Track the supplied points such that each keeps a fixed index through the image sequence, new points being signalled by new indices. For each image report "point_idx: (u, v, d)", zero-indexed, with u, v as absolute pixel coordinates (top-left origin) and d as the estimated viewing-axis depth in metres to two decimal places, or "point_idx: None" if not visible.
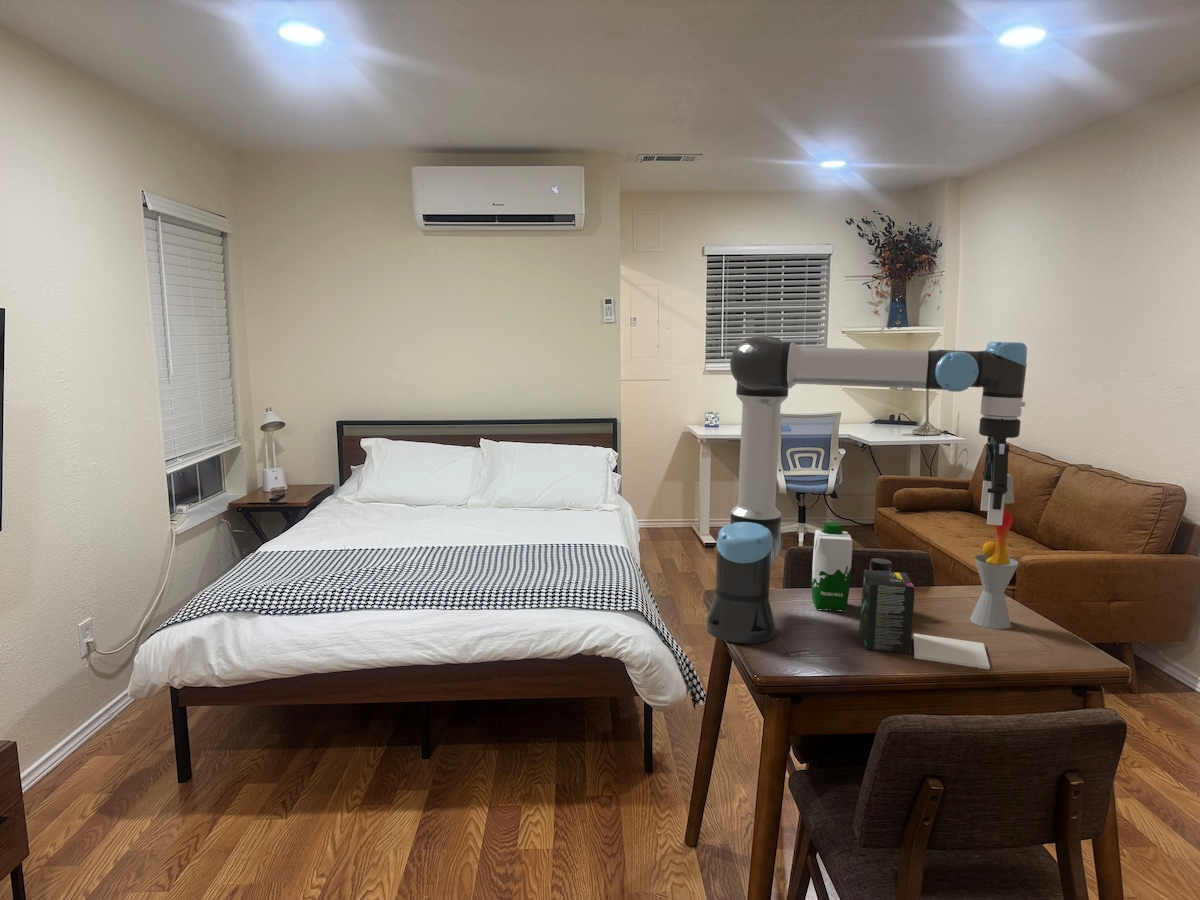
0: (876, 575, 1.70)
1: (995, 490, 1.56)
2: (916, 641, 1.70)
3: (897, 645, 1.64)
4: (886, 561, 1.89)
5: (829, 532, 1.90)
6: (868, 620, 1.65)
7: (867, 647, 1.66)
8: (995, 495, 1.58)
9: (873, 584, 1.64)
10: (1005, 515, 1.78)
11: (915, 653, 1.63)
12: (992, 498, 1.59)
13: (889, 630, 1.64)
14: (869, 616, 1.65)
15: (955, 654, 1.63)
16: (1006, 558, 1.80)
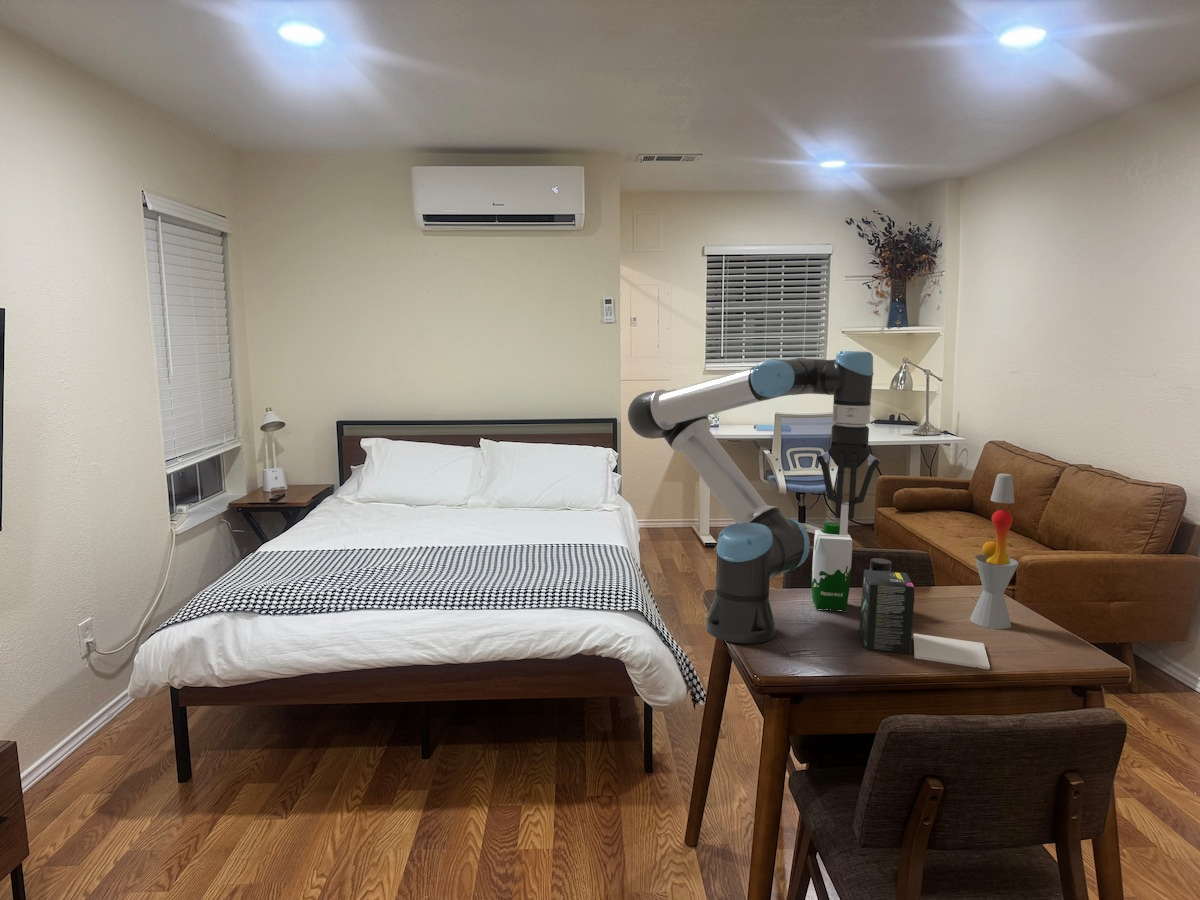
0: (876, 575, 1.70)
1: None
2: (916, 641, 1.70)
3: (897, 645, 1.64)
4: (886, 561, 1.89)
5: (829, 532, 1.90)
6: (868, 620, 1.65)
7: (867, 647, 1.66)
8: None
9: (873, 584, 1.64)
10: (1005, 515, 1.78)
11: (915, 653, 1.63)
12: None
13: (889, 630, 1.64)
14: (869, 616, 1.65)
15: (955, 654, 1.63)
16: (1006, 558, 1.80)
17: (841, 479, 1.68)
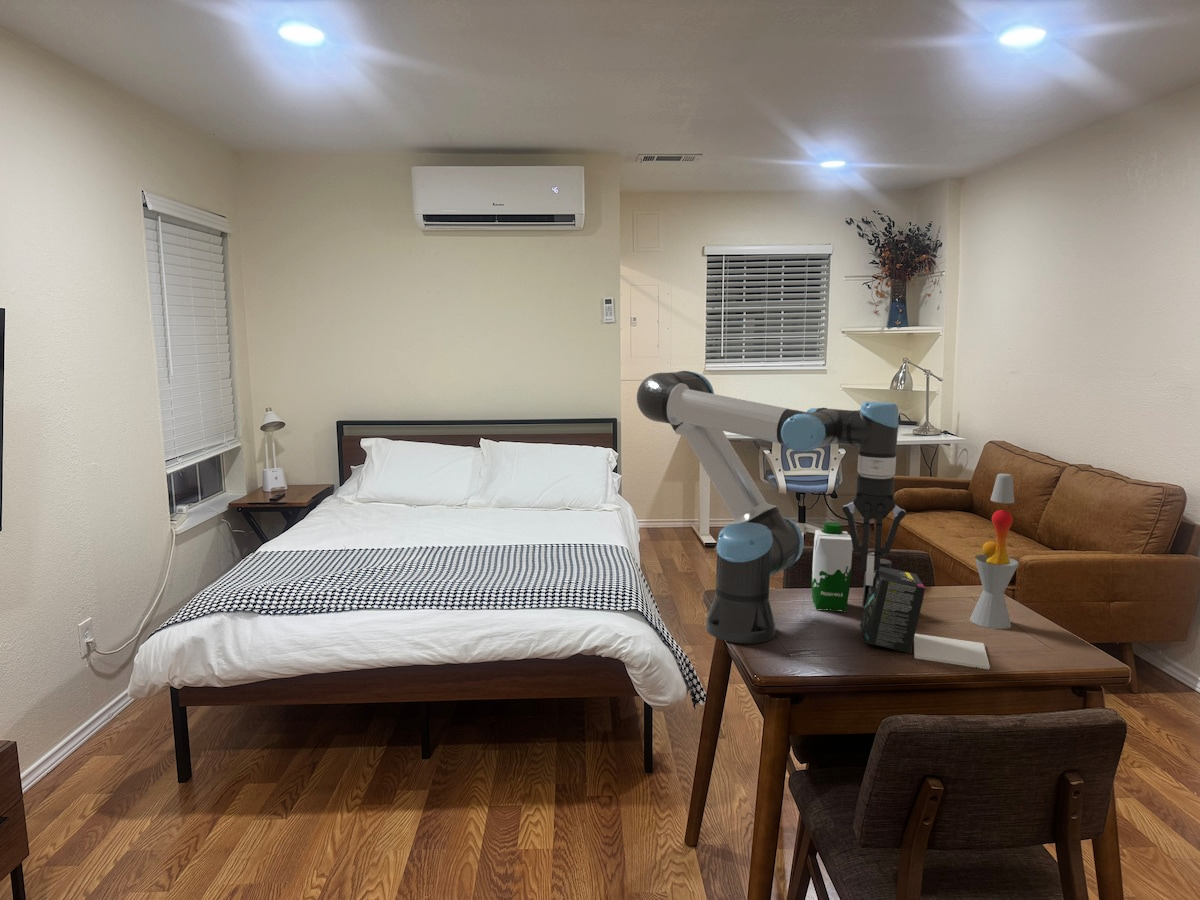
0: (887, 572, 1.69)
1: None
2: (916, 641, 1.70)
3: (899, 643, 1.64)
4: (886, 561, 1.89)
5: (829, 532, 1.90)
6: (873, 615, 1.65)
7: (868, 641, 1.66)
8: None
9: (884, 580, 1.63)
10: (1005, 515, 1.78)
11: (915, 653, 1.63)
12: None
13: (893, 628, 1.64)
14: (875, 611, 1.65)
15: (955, 654, 1.63)
16: (1006, 558, 1.80)
17: (867, 530, 1.67)
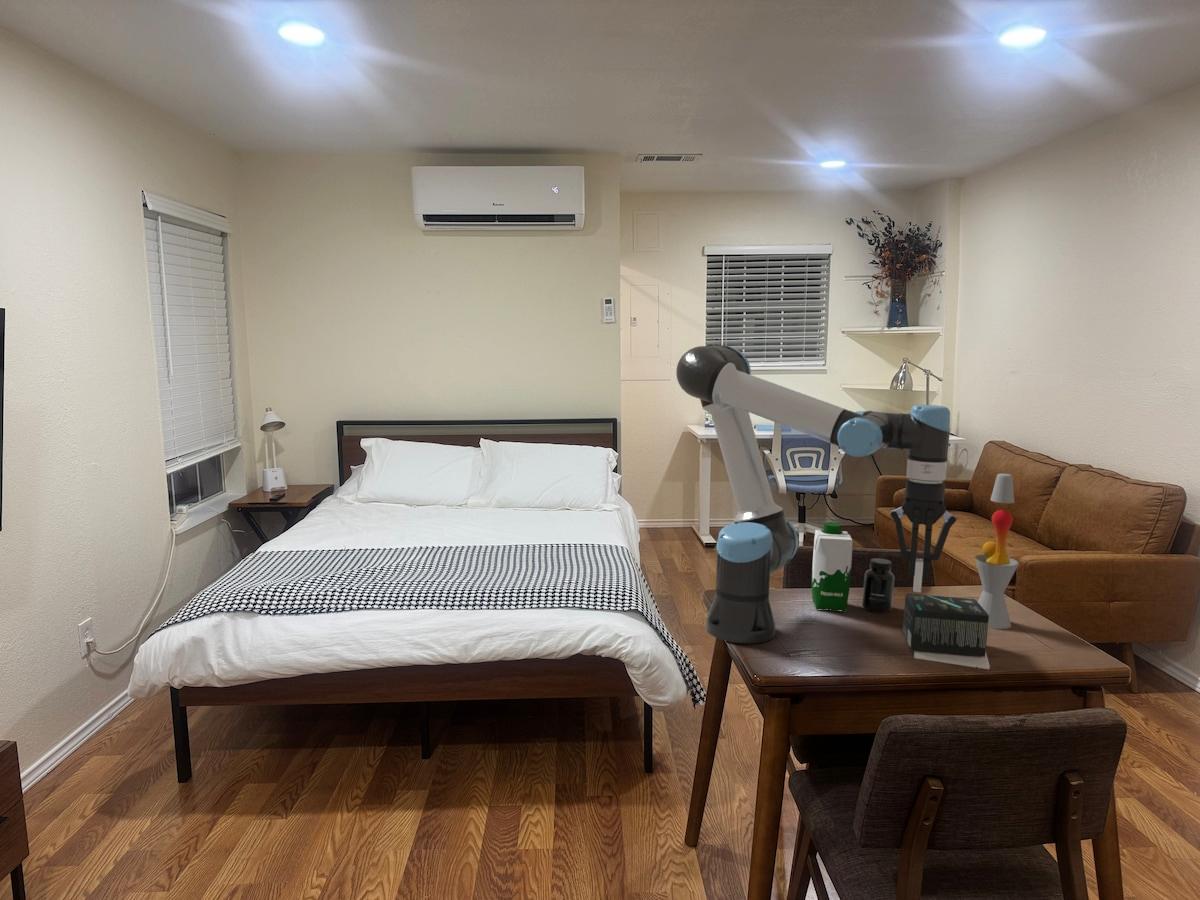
0: None
1: None
2: None
3: (919, 639, 1.63)
4: (886, 561, 1.89)
5: (829, 532, 1.90)
6: (947, 612, 1.62)
7: (916, 610, 1.63)
8: None
9: (988, 618, 1.60)
10: (1005, 515, 1.78)
11: (915, 653, 1.63)
12: None
13: (936, 632, 1.62)
14: (951, 613, 1.62)
15: (955, 654, 1.63)
16: (1006, 558, 1.80)
17: (916, 536, 1.64)
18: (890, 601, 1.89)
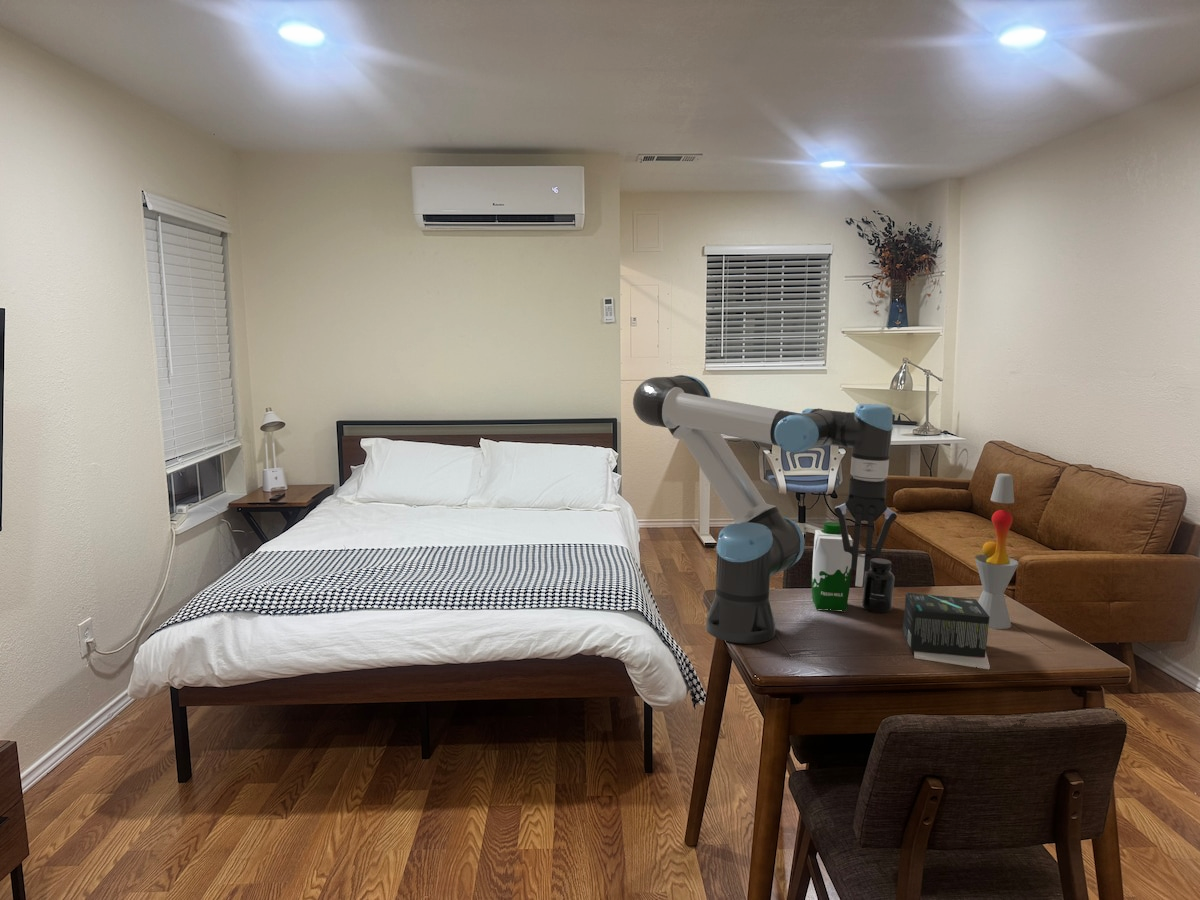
0: None
1: None
2: None
3: (919, 639, 1.63)
4: (886, 561, 1.89)
5: (829, 532, 1.90)
6: (947, 613, 1.62)
7: (917, 611, 1.63)
8: None
9: (988, 620, 1.60)
10: (1005, 515, 1.78)
11: (915, 653, 1.63)
12: None
13: (936, 633, 1.62)
14: (952, 614, 1.61)
15: None
16: (1006, 558, 1.80)
17: (858, 532, 1.68)
18: (890, 601, 1.89)
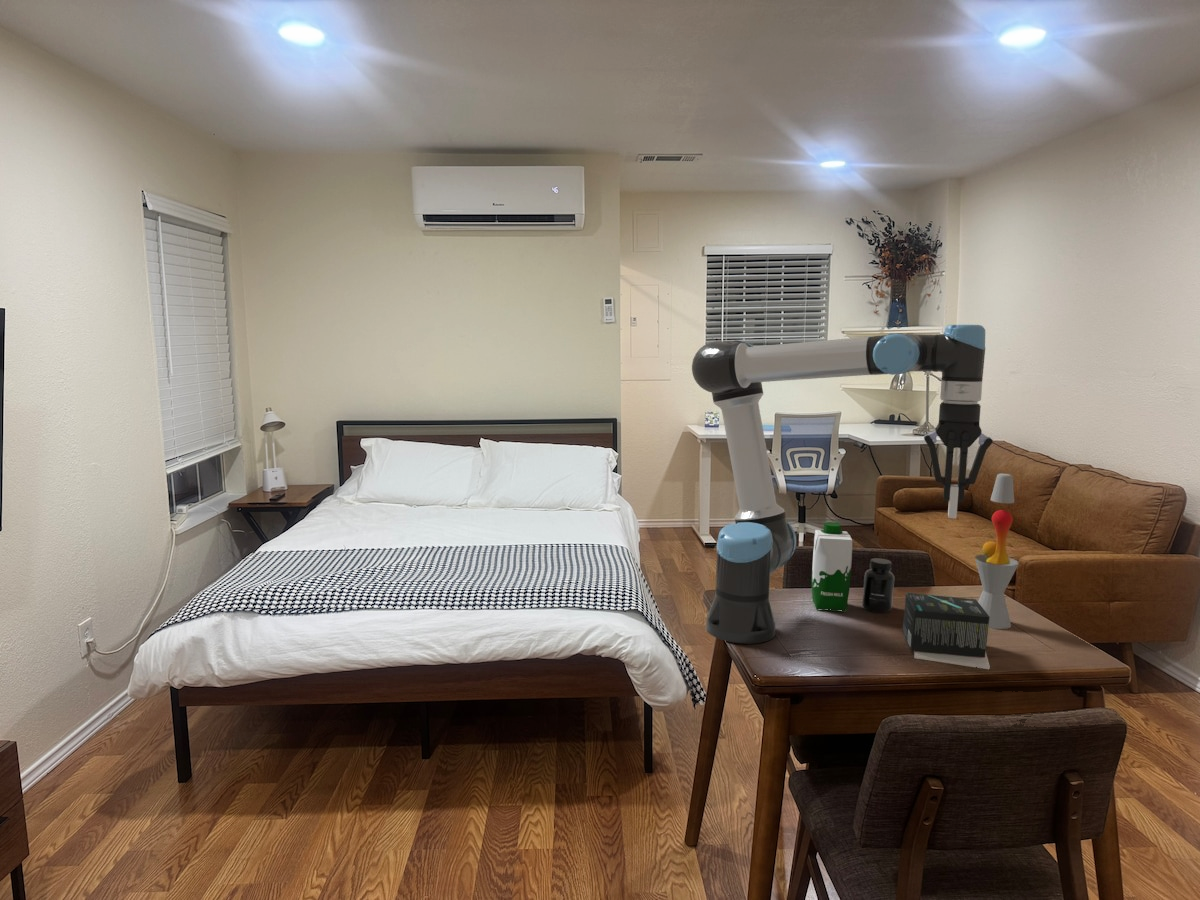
0: None
1: None
2: None
3: (919, 639, 1.63)
4: (886, 561, 1.89)
5: (829, 532, 1.90)
6: (947, 613, 1.62)
7: (917, 611, 1.63)
8: None
9: (988, 620, 1.60)
10: (1005, 515, 1.78)
11: (915, 653, 1.63)
12: None
13: (936, 633, 1.62)
14: (952, 614, 1.61)
15: None
16: (1006, 558, 1.80)
17: (950, 460, 1.60)
18: (890, 601, 1.89)
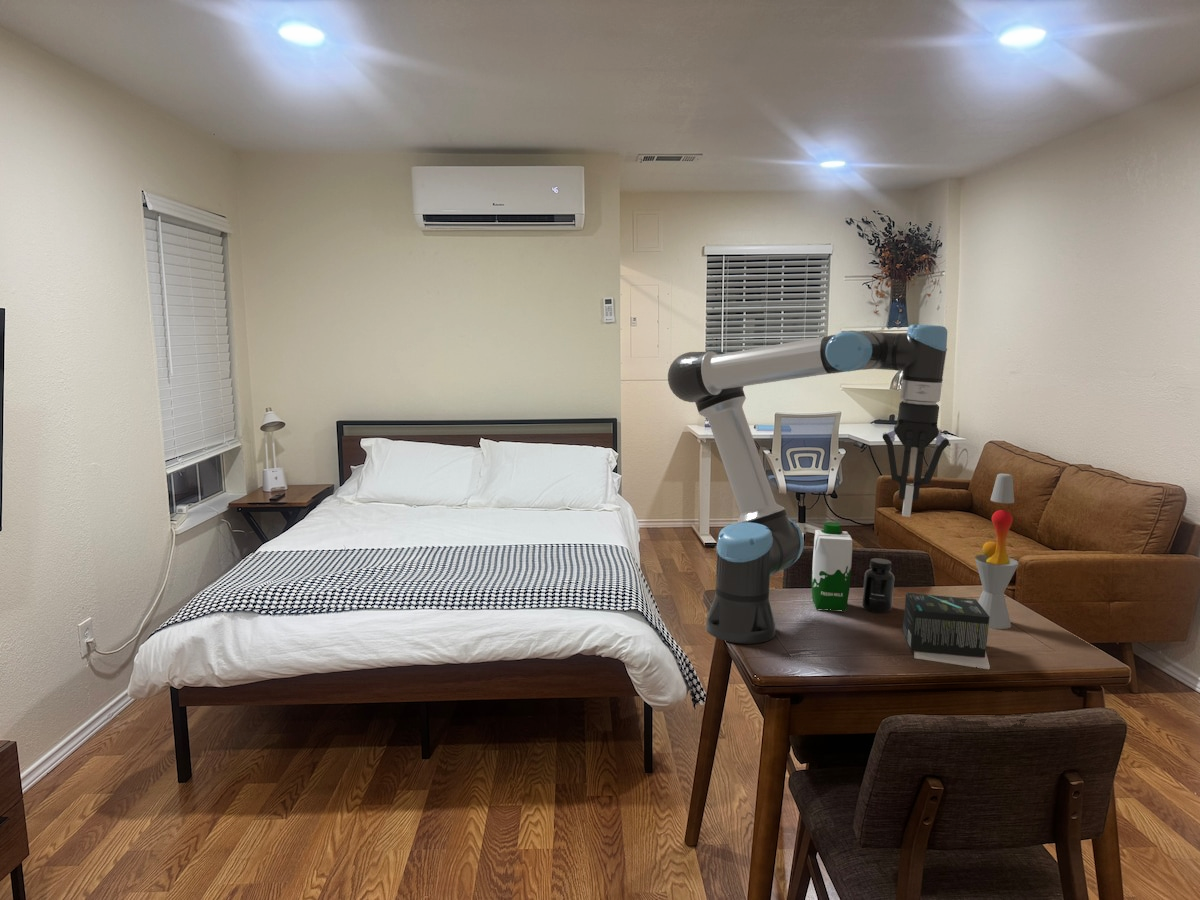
0: None
1: None
2: None
3: (919, 639, 1.63)
4: (886, 561, 1.89)
5: (829, 532, 1.90)
6: (947, 613, 1.62)
7: (917, 611, 1.63)
8: None
9: (988, 620, 1.60)
10: (1005, 515, 1.78)
11: (915, 653, 1.63)
12: None
13: (936, 633, 1.62)
14: (952, 614, 1.61)
15: None
16: (1006, 558, 1.80)
17: (907, 459, 1.61)
18: (890, 601, 1.89)
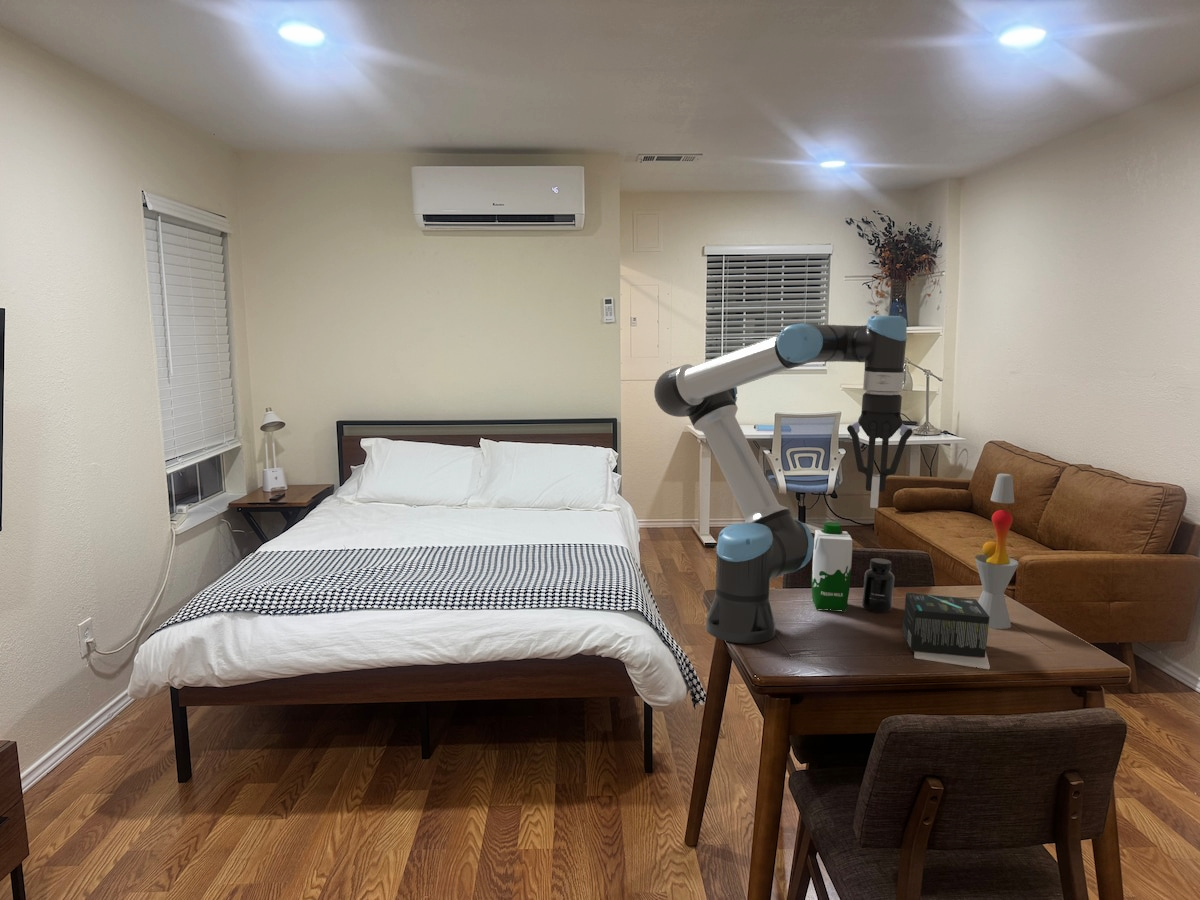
0: None
1: None
2: None
3: (919, 639, 1.63)
4: (886, 561, 1.89)
5: (829, 532, 1.90)
6: (947, 613, 1.62)
7: (917, 611, 1.63)
8: None
9: (988, 620, 1.60)
10: (1005, 515, 1.78)
11: (915, 653, 1.63)
12: None
13: (936, 633, 1.62)
14: (952, 614, 1.61)
15: None
16: (1006, 558, 1.80)
17: (872, 450, 1.61)
18: (890, 601, 1.89)
